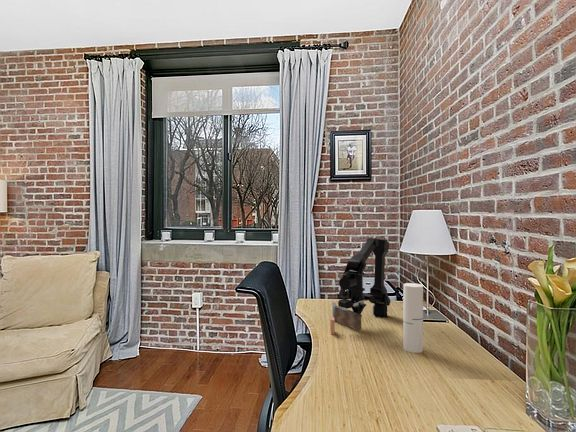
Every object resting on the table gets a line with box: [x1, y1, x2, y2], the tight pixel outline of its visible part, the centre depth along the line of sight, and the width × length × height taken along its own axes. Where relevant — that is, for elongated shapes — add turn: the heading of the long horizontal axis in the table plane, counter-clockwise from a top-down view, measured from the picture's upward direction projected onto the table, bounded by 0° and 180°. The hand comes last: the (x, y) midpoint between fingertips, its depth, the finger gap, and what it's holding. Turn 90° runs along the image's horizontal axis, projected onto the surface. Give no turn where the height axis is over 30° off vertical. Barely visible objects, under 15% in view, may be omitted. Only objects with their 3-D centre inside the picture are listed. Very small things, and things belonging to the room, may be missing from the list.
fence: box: [329, 302, 338, 335], centre depth 156 cm, size 4×27×8 cm, turn 176°
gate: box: [335, 305, 363, 332], centre depth 152 cm, size 16×2×7 cm, turn 31°
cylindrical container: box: [402, 282, 424, 354], centre depth 127 cm, size 7×7×25 cm
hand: (357, 319), depth 152 cm, fingers closed
